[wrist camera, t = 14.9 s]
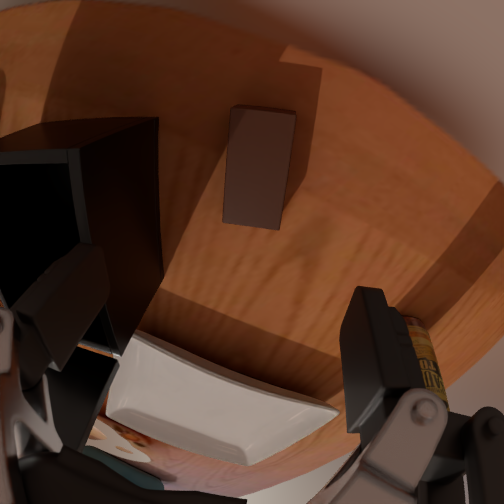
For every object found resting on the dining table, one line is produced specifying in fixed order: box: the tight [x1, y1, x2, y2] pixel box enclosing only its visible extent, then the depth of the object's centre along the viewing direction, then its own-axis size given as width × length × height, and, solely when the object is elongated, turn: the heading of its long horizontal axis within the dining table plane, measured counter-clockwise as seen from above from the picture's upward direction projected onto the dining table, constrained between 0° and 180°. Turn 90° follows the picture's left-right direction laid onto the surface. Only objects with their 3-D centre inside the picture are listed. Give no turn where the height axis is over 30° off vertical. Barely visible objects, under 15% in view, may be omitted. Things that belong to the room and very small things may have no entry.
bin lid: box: [45, 346, 120, 453], centre depth 14 cm, size 16×13×5 cm
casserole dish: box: [82, 446, 164, 490], centre depth 71 cm, size 37×22×7 cm, turn 46°
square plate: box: [106, 329, 340, 466], centre depth 38 cm, size 27×27×4 cm
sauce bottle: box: [402, 316, 450, 504], centre depth 20 cm, size 6×6×20 cm
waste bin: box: [0, 117, 164, 357], centre depth 20 cm, size 15×13×10 cm
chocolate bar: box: [222, 105, 296, 230], centre depth 20 cm, size 8×4×2 cm, turn 175°
